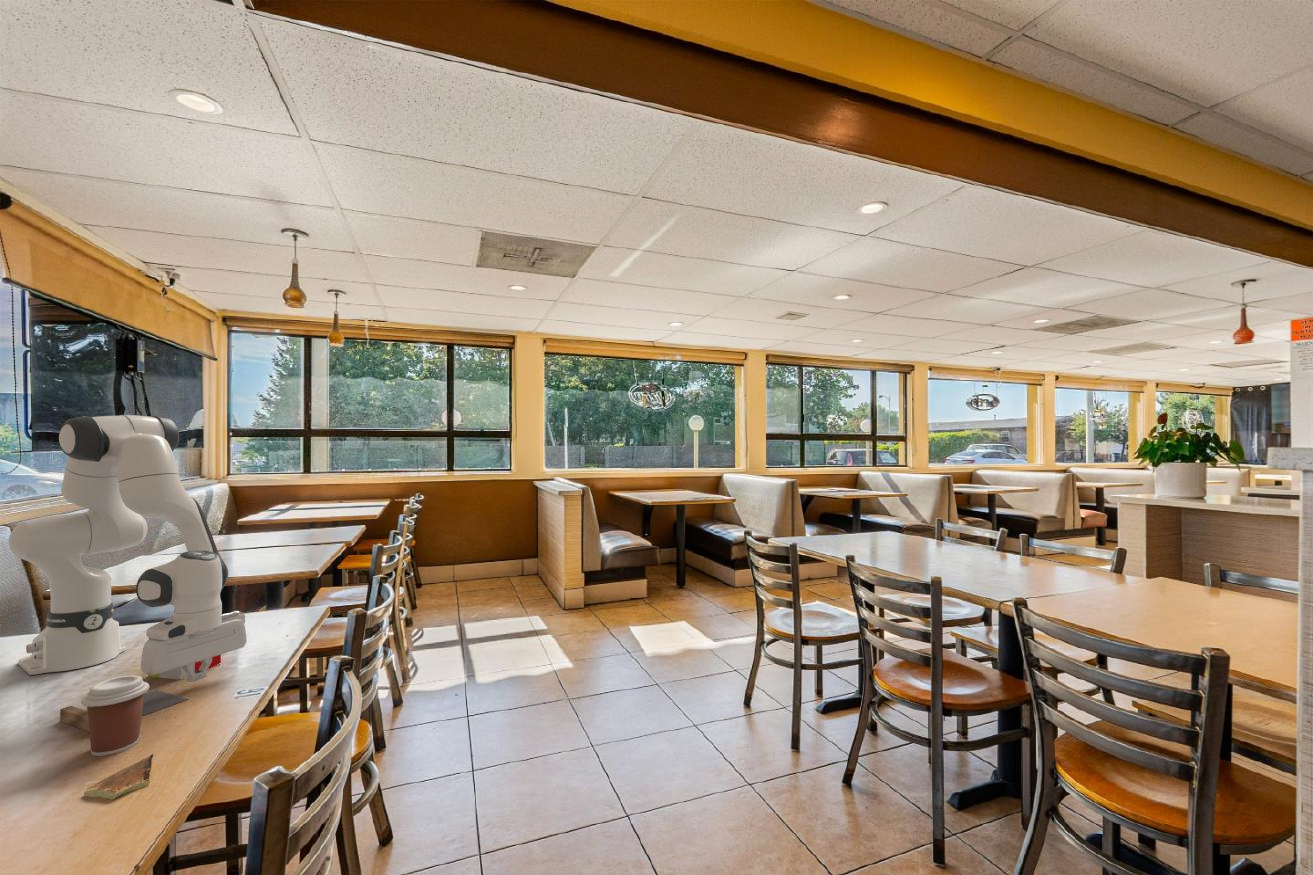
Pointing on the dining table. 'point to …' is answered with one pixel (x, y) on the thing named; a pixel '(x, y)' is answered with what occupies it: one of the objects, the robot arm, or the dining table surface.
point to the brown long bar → (75, 717)
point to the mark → (159, 701)
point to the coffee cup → (115, 713)
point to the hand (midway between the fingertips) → (196, 679)
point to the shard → (123, 781)
